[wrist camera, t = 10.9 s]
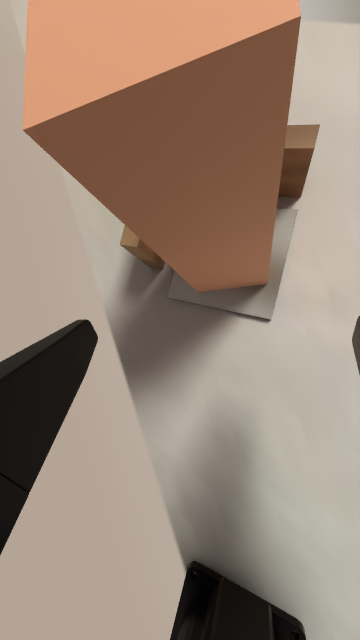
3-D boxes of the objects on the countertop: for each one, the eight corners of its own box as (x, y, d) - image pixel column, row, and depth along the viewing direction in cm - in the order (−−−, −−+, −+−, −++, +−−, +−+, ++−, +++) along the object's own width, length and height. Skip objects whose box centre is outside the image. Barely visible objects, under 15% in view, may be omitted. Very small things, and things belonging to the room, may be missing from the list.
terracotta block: (267, 284, 15) (300, 15, 3) (198, 292, 17) (23, 130, 4) (260, 217, 16) (266, -237, 4) (194, 230, 17) (30, -69, 5)
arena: (270, 320, 15) (274, 310, 11) (141, 292, 18) (111, 277, 14) (305, 179, 16) (320, 124, 12) (172, 174, 19) (150, 129, 15)
